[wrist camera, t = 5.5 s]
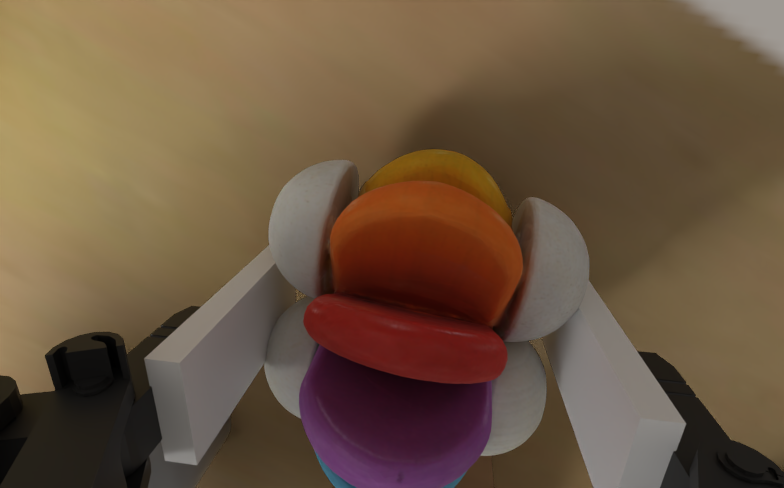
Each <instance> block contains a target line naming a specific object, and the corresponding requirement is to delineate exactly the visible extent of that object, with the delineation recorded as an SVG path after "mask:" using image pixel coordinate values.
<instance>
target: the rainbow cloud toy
mask: <svg viewBox="0 0 784 488" xmlns="http://www.w3.org/2000/svg"><path fill="white" fill-rule="evenodd" d="M269 246H270V251H271V254H272V256H273V259H274V261H275V263H276V265H277V267H278V269H279V270H280V272H281V274H282V275H283V276H284V277H285V279H286V280H287V281H288V282H289V283H290V284H291V285H292V286H293V287H295V288H296V289H297V290H299V291H300V292H302V293H303V294H305V295H307V296H308V297H305V298H303V299H301V300H299V301H297V302H296V303H294V304H293V305H292V306H290V307H289V308H288V309H287V310H286V311H285V312H284V313H283V314H282V315H281V316H280V317H279V318H278V320H277V322H276V323H275V325H274V327H273V330H272V332H271V335H270V338H269V341H268V346H267V352H266V360H265V363H264V367H265V374H266V378H267V382H268V384H269V386H270V389H271V391H272V392H273V394H274V396H275V397H276V399H277V400H278V401H279V402H280V404H281V405H282V406H283V407H284V408H285V409H286V410H288V411H289V412H291V413H292V414H293V415H295V416H297V417H299V418H301V420H302V423H303V427H304V430H305V432H306V434H307V437H308V439H309V441H310V443H311V445H312V447H313V448H314V451H315V453H316V456H317V459H318V461H319V463H320V465H321V467H322V469H323V471H324V473H325V474H326V476H327V477H328V479H329V480H330V482H331V483H332V484H333V486H334V487H335V488H454V487H455V486H456V485H457V484H458V483H459V482H460V481H461V479H462V478H463V476H464V475H465V474H466V472H467V470H468V469H469V468H470V467H471V466H472V465H473V464H474V463H475V462H476V461H477V460H478V458H479V457H480V456H491V455H498V454H502V453H506V452H509V451H511V450H513V449H515V448H517V447H518V446H520V445H521V444H523V443H524V442H525V441H526V440H527V439H528V438H529V437H530V436H531V435H532V434H533V433H534V431H535V430H536V429H537V427H538V425H539V423H540V421H541V419H542V416H543V412H544V408H545V403H546V392H547V385H546V373H545V370H544V366H543V364H542V361H541V359H540V357H539V355H538V354H537V352H536V350H535V349H534V348H533V346H532V345H531V344H530V342H529V340H535V339H538V338H541V337H544V336H546V335H548V334H550V333H552V332H554V331H556V330H557V329H559V328H560V327H561V326H563V325H564V324H565V323H566V322H567V321H568V320H569V319H570V318H571V317H572V316H573V315H574V313H575V312H576V311H577V309H578V308H579V306H580V304H581V302H582V300H583V298H584V295H585V292H586V288H587V285H588V280H589V267H590V266H589V255H588V250H587V246H586V244H585V241H584V239H583V237H582V235H581V233H580V231H579V230H578V228H577V227H576V225H575V224H574V222H573V221H572V220H571V219H570V218H569V217H568V216H567V215H566V214H565V213H564V212H562V211H561V210H559V209H558V208H557V207H555V206H554V205H552V204H550V203H549V202H546V201H544V200H542V199H539V198H536V197H528V198H527V199H525V200H524V201H523V202H522V203H521V204H520V206H519V207H518V209H517V211H516V213H515V215H514V217H513V220H512V213H511V210H510V209H509V208H508V207H507V204H506V202H505V199H504V197H503V195H502V193H501V191H500V189H499V188H498V186H497V184H496V183H495V181H494V180H493V178H492V177H491V176H490V175H489V173H488V172H487V171H486V170H485V169H484V168H483V167H481V166H480V165H479V164H478V163H476V162H475V161H473V160H472V159H470V158H469V157H467V156H465V155H463V154H460V153H457V152H454V151H448V150H442V149H428V150H421V151H416V152H412V153H409V154H406V155H403V156H401V157H399V158H397V159H395V160H393V161H392V162H390V163H388V164H387V165H385V166H384V167H382V168H381V169H379V170H378V171H377V172H376V173H375V174H374V175H373V176H372V177H371V178H370V179H369V180H368V181H367V182H365V183H364V185H363V186H362V187H361V189H360V192H359V175H358V171H357V167H356V166H355V164H354V163H353V162H351V161H348V160H332V161H325V162H321V163H318V164H315V165H312V166H310V167H308V168H306V169H304V170H303V171H301V172H300V173H298V174H297V175H296V176H294V177H293V178H292V179H291V180H290V181H289V182H288V183H287V184H286V185H285V186H284V187H283V188H282V190H281V192H280V194H279V195H278V197H277V199H276V202H275V204H274V207H273V210H272V214H271V218H270V223H269Z"/></svg>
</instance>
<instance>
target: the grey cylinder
mask: <svg viewBox="0 0 784 488" xmlns="http://www.w3.org/2000/svg"><path fill="white" fill-rule="evenodd" d="M230 430H231V418H230V416H229V418H228V419H227V421H226V422H225V424H224V425H223V427H222V428H221V430H220V431H219V433H218V434H217V436H216V437H215V439H214V440H213V442H212V443H211V445H210V446H209V448H208V449H207V451H206V453H205V454H204V456H203V457H202V459H201V460H200V462H199V463H198V465H191V464H184V463H178V462H171V461H165V458H164V453H163V449H162V444H161V441H160V443H159V444H158V445H157V446H156V448H155V449H154V450H153V451H152V453H151V454H150V455H149V457H150V462H151V475H150V480H149V484H148V488H195V487H196V486H197V484H198V483H199V481H200V479H201V478H202V476H203V475H204V473H205V472H206V470H207V468H208V467H209V465H210V464H211V462H212V461H213V459H214V458H215V456H216V454H217V453H218V451H219V450H220V448H221V447H222V445H223V443H224V442H225V440H226V439H227V437H228V435H229V433H230Z"/></svg>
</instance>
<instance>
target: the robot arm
mask: <svg viewBox="0 0 784 488" xmlns="http://www.w3.org/2000/svg"><path fill="white" fill-rule="evenodd" d="M294 303H296V293H295V287H293V286H292V285H291V284H290V283H289V282H288V281H287V280H286V279H285V277H284V276H283V275H282V274H281V272H280V270H279V269H278V267H277V265H276V263H275V261H274V259H273V256H272V254H271V251H270V246H269V245H268V246H267V247H266V248H265V249H264V250H263V251H262V252H261V253H260V254H258V255H257V256H256V257H255V258H254V259H253V260H252V261H251V262H250V263H249V264H248V265H246V266H245V267H244V268H243V269H242V270H241V271H240V272H239V273H238V274H237V275H235V276H234V277H233V278H232V279H231V280H230V281H229V282H228V283H227V284H226V285H224V286H223V287H222V288H221V289H220V290H219V291H218V292H217V293H216V294H215V295H213V296H212V297H211V298H210V299H209V300H208V301H207V302H206V303H205V304H204V305H202V306H201V307H196V306H191V307H189V308H187V309H185V310H182V311H180V312H178V313H176V314H174V315H173V316H172V317H170V318H169V319H168V320H167V321H166V322H165V323H163V324H162V325H161V328H157V329H156V330H155V331H154V332H153V333H152V334H151V336H150V337H147V338H146V339H145V340H143V341H142V342H141V343H140V344H139V345H137V346H136V347H135V348H134V349H133V350H132V351H130V352H129V353H128V354H126V349H125V345H124V340H123V338H122V337H121V336H119V335H118V334H115V333H111V332H94V333H89V334H84V335H79V336H77V337H74V338H71V339H68V340H66V341H64V342H62V343H60V344H59V345H57V346H55V347H53V348H52V349H51V350H50V351H49V352H48V353H47V354H46V355H45V358H46V361H47V364H48V368H49V371H50V374H51V377H52V381H53V384H54V387H55V391H51V392H41V393H32V394H22V395H20V393H19V390H18V387H17V384H16V381H15V380H13V379H12V378H11V377H9V376H1V375H0V488H148V484H149V480H150V475H151V462H150V457H149V455H150V454H151V453H152V451H153V450H154V449H155V448H156V446H157V445H158V444H159V443H160V441H161V444H162V449H163V453H164V458H165V461H171V462H178V463H184V464H191V465H198V463H199V462H200V460H201V459H202V457H203V456H204V454H205V453H206V451H207V449H208V448H209V446H210V445H211V443H212V442H213V440H214V439H215V437H216V436H217V434H218V433H219V431H220V430H221V428H222V427H223V425H224V424H225V422H226V421H227V419H228V418H229V416H230V415H231V413H232V412H233V410H234V408H235V407H236V405H237V404H238V402H239V401H240V399H241V398H242V396H243V395H244V393H245V392H246V390H247V389H248V387H249V386H250V384H251V383H252V381H253V380H254V378H255V377H256V375H257V374H258V372H259V371H260V369H261V367H262V366H263V364H264V363H265V360H266V352H267V346H268V341H269V338H270V335H271V332H272V330H273V327H274V325H275V323H276V322H277V320H278V318H279V317H280V316H281V315H282V314H283V313H284V312H285V311H286V310H287V309H288V308H289V307H290V306H292V305H293V304H294ZM542 341H543V344H544V346H545V349H546V352H547V355H548V358H549V361H550V364H551V367H552V370H553V372H554V375H555V378H556V381H557V384H558V387H559V390H560V393H561V396H562V398H563V401H564V404H565V407H566V410H567V413H568V416H569V419H570V422H571V425H572V427H573V430H574V433H575V436H576V439H577V442H578V445H579V448H580V451H581V453H582V456H583V459H584V462H585V465H586V468H587V471H588V474H589V477H590V479H591V482H592V485H593V488H784V472H783V471H782V470H781V469H780V468H779V467H778V466H777V465H776V464H775V463H774V462H773V461H771V460H770V459H768V458H767V457H765V456H764V455H762V454H761V453H759V452H758V451H756V450H754V449H752V448H750V447H748V446H746V445H743V444H741V443H739V442H735V441H732V440H730V439H729V437H728V436H727V435H726V433H725V432H724V431H723V430H722V428H721V427H720V426H719V424H718V423H717V422H716V420H715V419H714V418H713V417H712V415H711V414H710V413H709V411H708V410H707V409H706V407H705V406H704V405H703V404H702V402H701V401H700V400H699V398H696V397H695V393H694V392H693V391H692V389H691V388H690V387H689V385H686V382H685V380H684V379H683V378H682V376H681V375H680V374H679V372H678V371H677V370H676V369H675V367H674V366H672V365H671V364H670V363H668V362H667V361H665V360H664V359H663V358H661V357H660V356H659V355H657V354H656V353H649V352H639V351H637V350H636V349H635V348H634V346H633V345H632V343H631V342H630V340H629V339H628V337H627V336H626V334H625V333H624V331H623V330H622V328H621V327H620V325H619V324H618V323H617V321H616V320H615V318H614V317H613V315H612V314H611V312H610V311H609V309H608V308H607V306H606V305H605V303H604V302H603V300H602V299H601V298H600V296H599V295H598V293H597V292H596V290H595V289H594V287H593V286H592V284H591V283H590V281H589V280H588V285H587V288H586V292H585V295H584V298H583V300H582V302H581V304H580V306H579V308H578V309H577V311H576V312H575V313H574V315H573V316H572V317H571V318H570V319H569V320H568V321H567V322H566V323H565V324H564V325H563V326H561V327H560V328H559V329H557V330H556V331H554V332H552V333H550V334H548V335H546V336H544V337H543V338H542Z"/></svg>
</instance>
